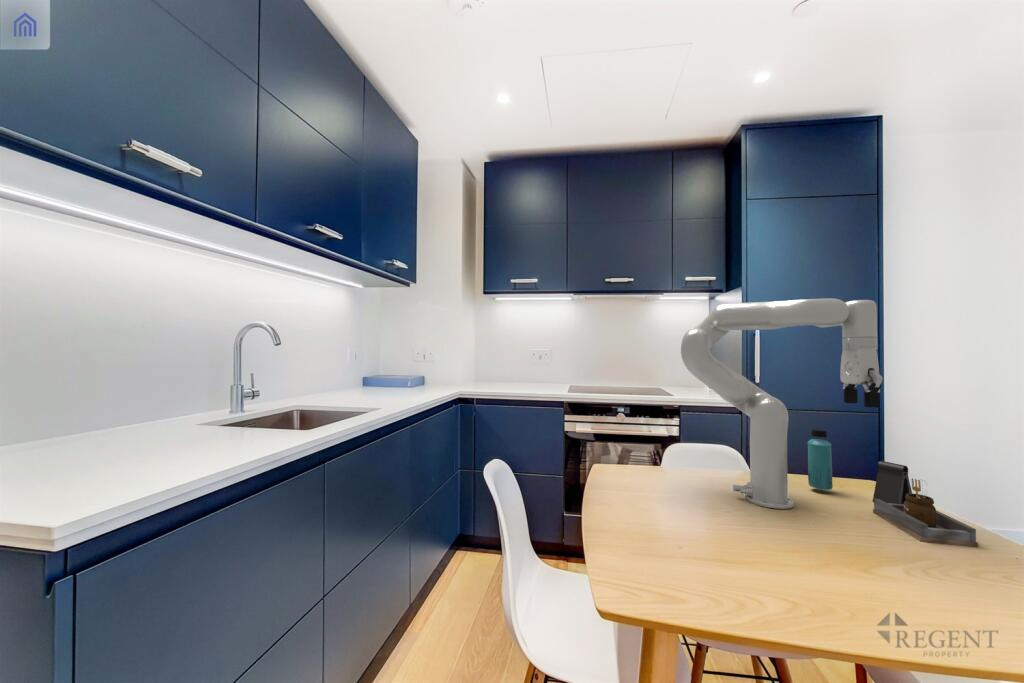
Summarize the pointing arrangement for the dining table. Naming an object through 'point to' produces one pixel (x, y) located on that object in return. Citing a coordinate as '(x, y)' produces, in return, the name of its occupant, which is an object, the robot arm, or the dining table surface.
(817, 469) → the beverage bottle
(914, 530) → the gray framed rectangular tray
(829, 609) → the dining table surface
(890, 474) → the phone stand
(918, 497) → the utensil holder
